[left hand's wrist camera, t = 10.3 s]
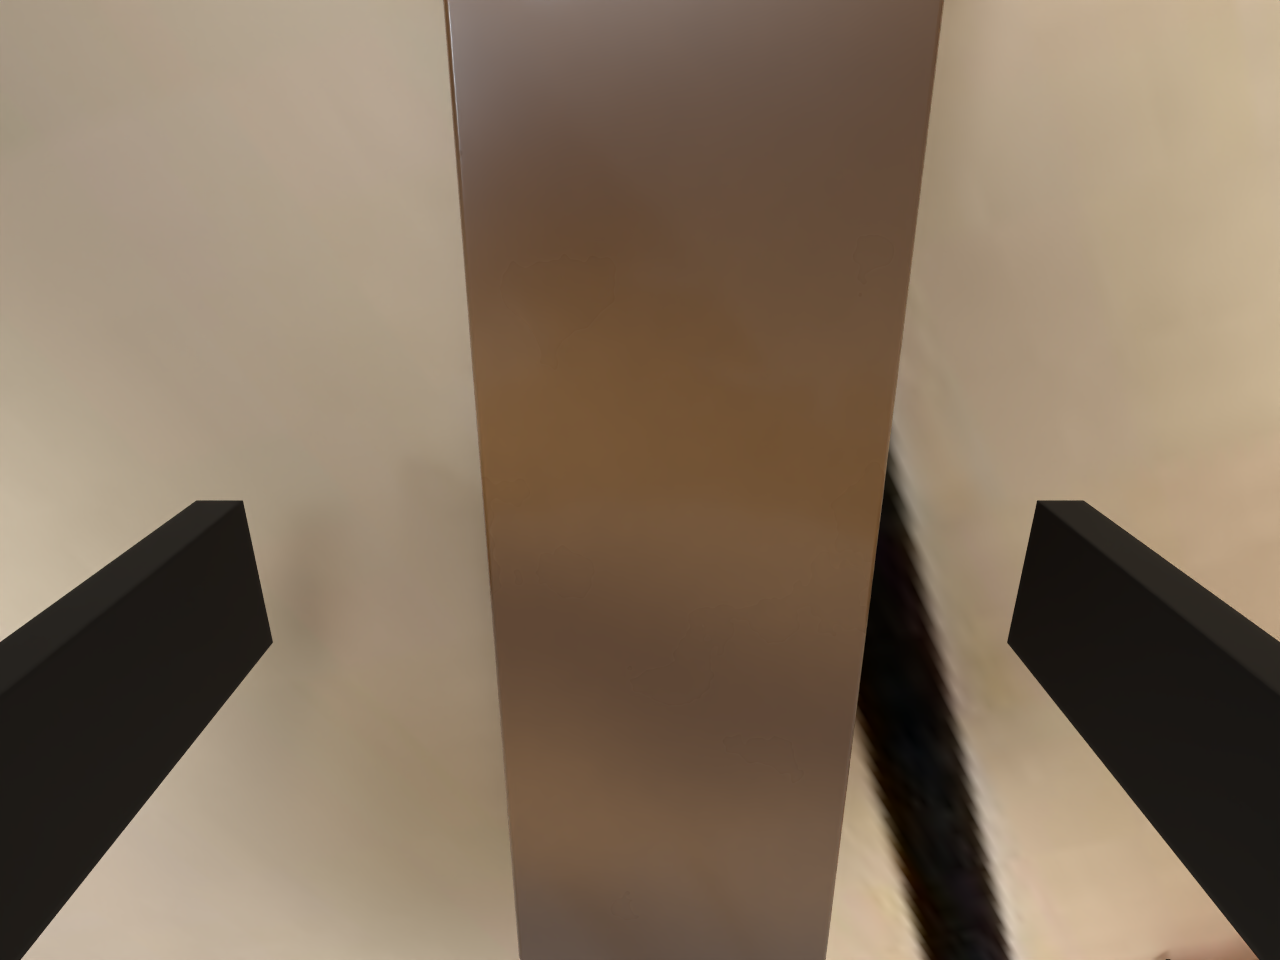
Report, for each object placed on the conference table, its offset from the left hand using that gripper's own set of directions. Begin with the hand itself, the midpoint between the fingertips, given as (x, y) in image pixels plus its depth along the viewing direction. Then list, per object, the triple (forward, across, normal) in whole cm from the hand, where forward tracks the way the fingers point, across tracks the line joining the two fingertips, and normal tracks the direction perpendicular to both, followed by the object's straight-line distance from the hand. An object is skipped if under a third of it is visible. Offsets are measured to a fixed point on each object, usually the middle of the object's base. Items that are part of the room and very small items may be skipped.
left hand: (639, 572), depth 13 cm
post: (+5, -1, -19) cm, 20 cm away
